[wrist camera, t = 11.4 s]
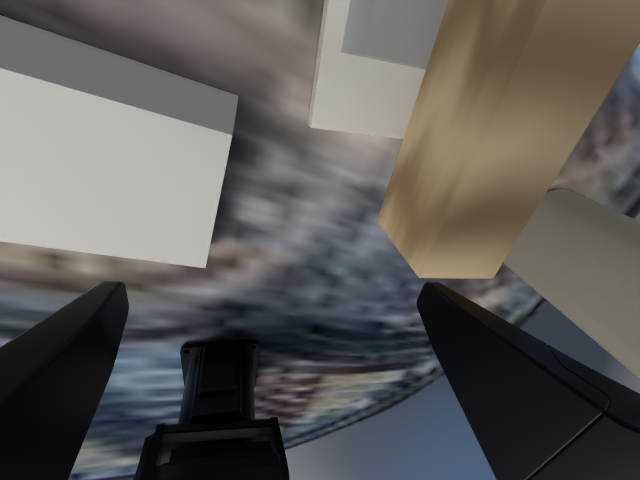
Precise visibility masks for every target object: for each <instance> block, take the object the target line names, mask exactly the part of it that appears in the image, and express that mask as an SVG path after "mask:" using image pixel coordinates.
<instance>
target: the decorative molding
mask: <svg viewBox="0 0 640 480" xmlns="http://www.w3.org/2000/svg"><path fill="white" fill-rule="evenodd" d="M238 97H239V96H238V95H235V94H232V93H229V92H226V91H223V90H220V89H217V88H214V87H211V86H208V85H205V84H202V83H199V82H196V81H193V80H190V79H187V78H184V77H181V76H178V75H175V74H173V73H170V72H167V71H164V70H161V69H158V68H155V67H152V66H149V65H146V64H143V63H140V62H137V61H134V60H131V59H129V58H126V57H123V56H120V55H117V54H114V53H111V52H108V51H105V50H102V49H99V48H96V47H93V46H90V45H87V44H84V43H81V42H78V41H75V40H72V39H69V38H66V37H63V36H60V35H57V34H54V33H52V32H49V31H46V30H43V29H40V28H37V27H34V26H31V25H28V24H25V23H22V22H19V21H16V20H13V19H10V18H7V17H4V16H1V15H0V241H3V242H10V243H18V244H26V245H33V246H41V247H48V248H56V249H63V250H71V251H79V252H86V253H94V254H101V255H109V256H117V257H124V258H132V259H139V260H147V261H155V262H162V263H170V264H177V265H185V266H193V267H200V268H205V267H206V263H207V258H208V253H209V248H210V243H211V238H212V233H213V228H214V223H215V218H216V213H217V208H218V203H219V199H220V194H221V189H222V184H223V179H224V174H225V169H226V164H227V159H228V154H229V149H230V144H231V139H232V134H233V128H234V122H235V116H236V109H237V103H238Z"/></svg>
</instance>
